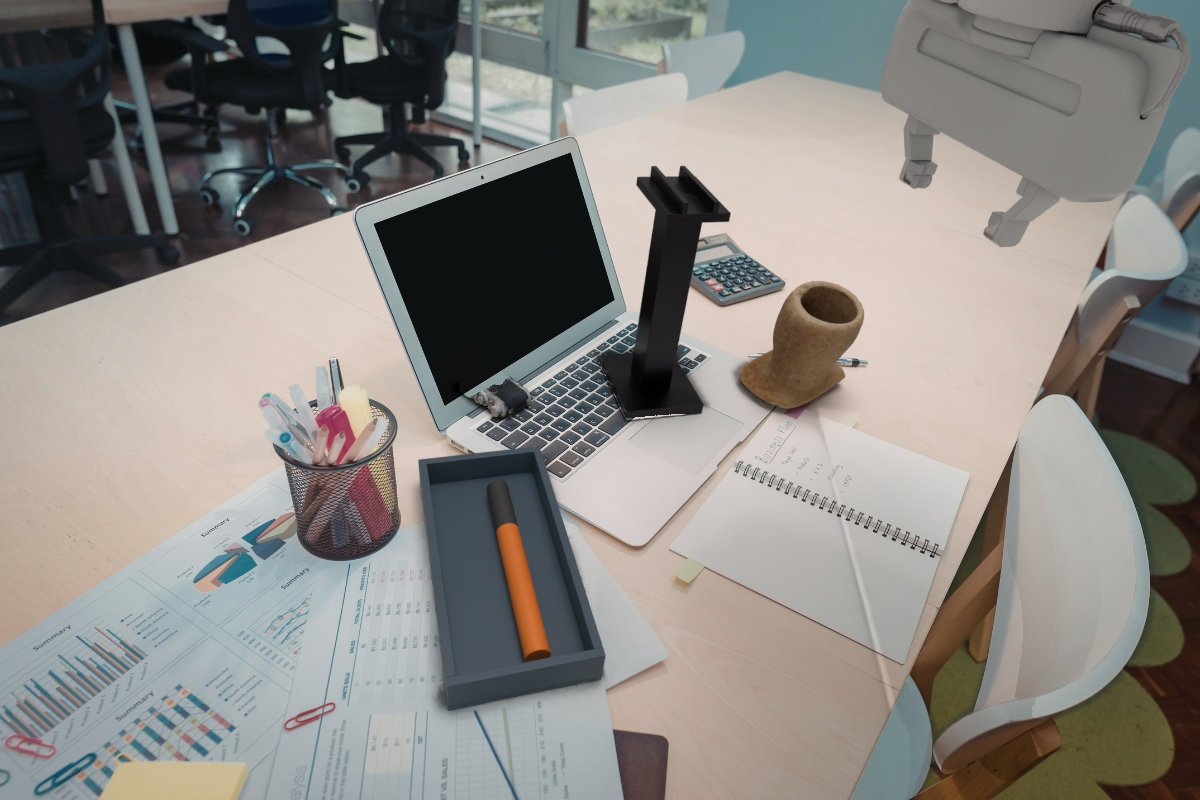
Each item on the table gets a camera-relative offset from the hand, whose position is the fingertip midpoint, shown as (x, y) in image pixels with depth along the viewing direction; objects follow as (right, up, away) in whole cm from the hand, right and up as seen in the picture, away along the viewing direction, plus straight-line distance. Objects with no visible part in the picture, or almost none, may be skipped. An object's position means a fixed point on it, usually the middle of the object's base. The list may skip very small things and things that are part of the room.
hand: (953, 211), depth 51 cm
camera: (-38, -13, +39) cm, 56 cm away
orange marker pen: (-34, -28, +17) cm, 47 cm away
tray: (-34, -29, +18) cm, 48 cm away
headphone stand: (-18, -12, +43) cm, 48 cm away
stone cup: (+1, -11, +47) cm, 48 cm away
